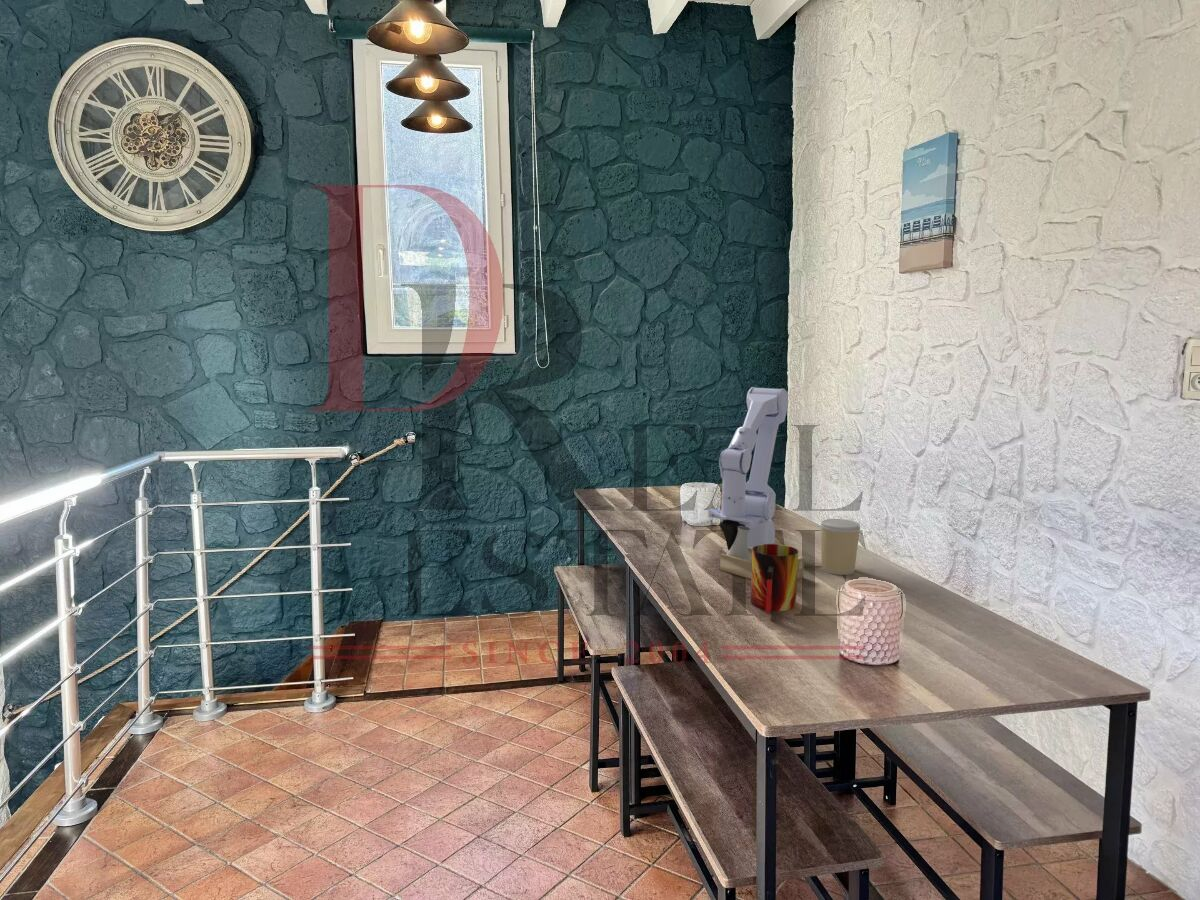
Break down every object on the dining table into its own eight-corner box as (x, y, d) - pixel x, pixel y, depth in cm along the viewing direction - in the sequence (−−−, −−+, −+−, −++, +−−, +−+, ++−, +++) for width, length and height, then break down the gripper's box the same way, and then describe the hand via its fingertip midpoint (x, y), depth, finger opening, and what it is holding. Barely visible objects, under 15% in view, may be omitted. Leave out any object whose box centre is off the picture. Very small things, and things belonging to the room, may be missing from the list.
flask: (746, 574, 196) (753, 535, 193) (718, 565, 199) (725, 527, 196) (754, 565, 202) (762, 528, 200) (727, 557, 205) (734, 520, 202)
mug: (766, 619, 165) (768, 562, 164) (744, 597, 179) (746, 544, 177) (810, 617, 167) (813, 561, 165) (785, 595, 180) (788, 543, 178)
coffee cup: (860, 567, 201) (862, 520, 199) (854, 578, 193) (857, 529, 191) (821, 562, 205) (824, 516, 203) (815, 572, 197) (817, 525, 195)
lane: (747, 561, 206) (747, 542, 205) (803, 577, 193) (804, 557, 192) (719, 569, 199) (720, 550, 198) (776, 586, 186) (777, 565, 185)
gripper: (700, 494, 203) (699, 546, 205) (746, 504, 192) (744, 559, 194) (719, 490, 207) (717, 541, 209) (764, 500, 196) (762, 553, 199)
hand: (731, 549), depth 202 cm, fingers closed
